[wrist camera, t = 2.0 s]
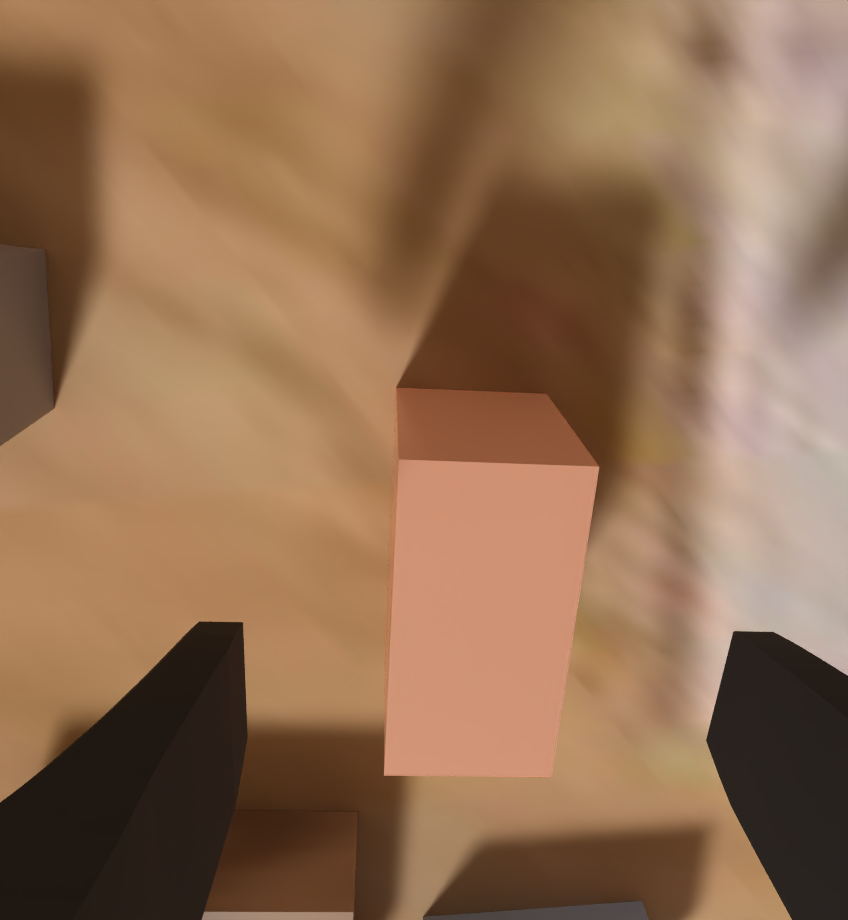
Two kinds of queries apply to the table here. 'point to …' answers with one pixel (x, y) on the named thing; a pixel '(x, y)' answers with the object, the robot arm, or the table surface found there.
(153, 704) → the robot arm
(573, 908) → the slate-blue brick
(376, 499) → the table surface
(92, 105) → the table surface
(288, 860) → the walnut block
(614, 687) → the table surface
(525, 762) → the terracotta brick
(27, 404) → the gray brick
